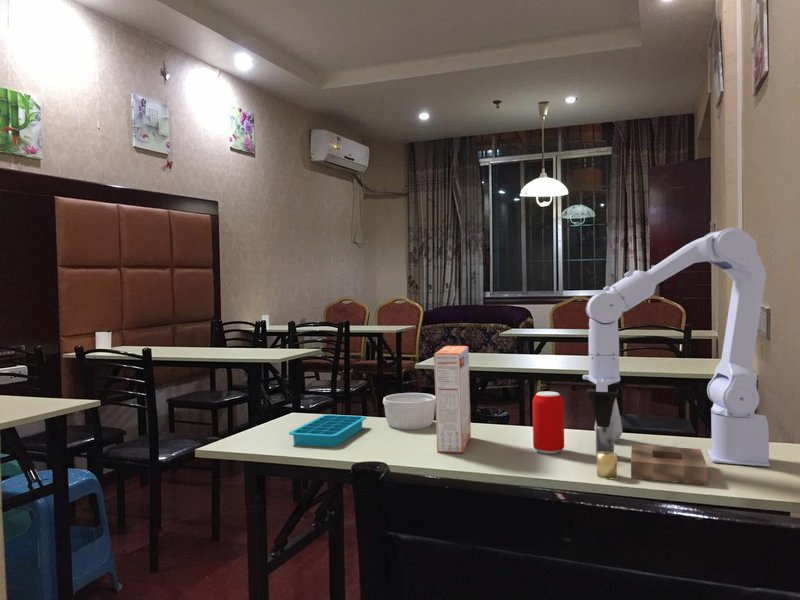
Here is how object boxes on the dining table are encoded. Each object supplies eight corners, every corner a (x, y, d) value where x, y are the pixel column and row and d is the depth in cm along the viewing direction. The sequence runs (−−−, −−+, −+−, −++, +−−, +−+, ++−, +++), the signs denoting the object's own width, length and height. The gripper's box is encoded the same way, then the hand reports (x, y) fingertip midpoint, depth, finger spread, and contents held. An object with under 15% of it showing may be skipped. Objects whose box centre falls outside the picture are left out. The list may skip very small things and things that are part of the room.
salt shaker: (624, 443, 127) (623, 383, 127) (596, 442, 128) (595, 382, 128) (619, 437, 133) (619, 378, 133) (593, 436, 134) (592, 378, 134)
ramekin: (384, 432, 142) (383, 403, 142) (382, 420, 155) (382, 393, 155) (439, 430, 143) (438, 401, 143) (433, 418, 156) (433, 391, 156)
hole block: (700, 465, 111) (700, 449, 111) (707, 485, 100) (707, 467, 100) (632, 459, 116) (631, 444, 116) (631, 478, 105) (630, 461, 105)
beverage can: (535, 446, 127) (534, 390, 126) (565, 448, 125) (564, 391, 124) (531, 454, 121) (530, 395, 121) (563, 456, 119) (562, 396, 119)
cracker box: (445, 436, 137) (443, 345, 136) (471, 437, 135) (469, 345, 135) (434, 452, 123) (432, 352, 123) (463, 454, 122) (461, 352, 121)
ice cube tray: (368, 428, 148) (367, 416, 147) (335, 449, 128) (335, 436, 128) (324, 426, 151) (324, 414, 151) (286, 446, 132) (286, 433, 132)
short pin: (617, 474, 107) (617, 452, 107) (616, 480, 104) (616, 457, 104) (597, 472, 108) (597, 450, 108) (596, 478, 105) (596, 455, 105)
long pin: (614, 454, 120) (614, 419, 119) (613, 459, 116) (613, 423, 116) (596, 452, 121) (596, 418, 121) (595, 457, 118) (595, 422, 118)
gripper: (585, 349, 126) (586, 413, 127) (579, 357, 113) (579, 429, 113) (621, 350, 124) (621, 415, 124) (618, 358, 110) (619, 431, 111)
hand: (604, 422), depth 118 cm, fingers open, 7 cm apart
